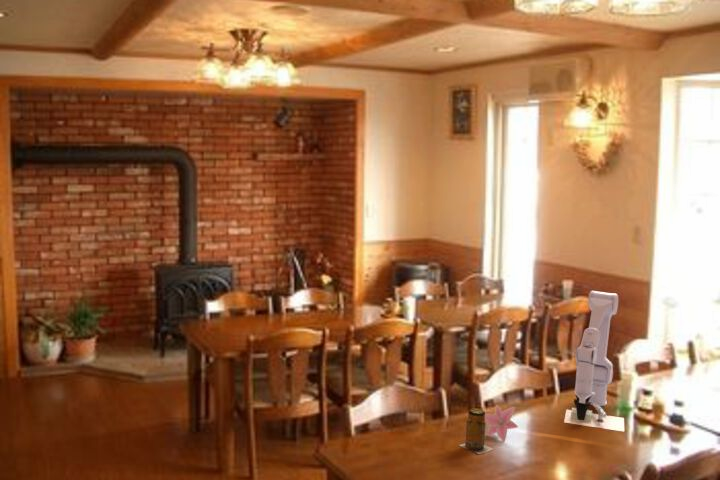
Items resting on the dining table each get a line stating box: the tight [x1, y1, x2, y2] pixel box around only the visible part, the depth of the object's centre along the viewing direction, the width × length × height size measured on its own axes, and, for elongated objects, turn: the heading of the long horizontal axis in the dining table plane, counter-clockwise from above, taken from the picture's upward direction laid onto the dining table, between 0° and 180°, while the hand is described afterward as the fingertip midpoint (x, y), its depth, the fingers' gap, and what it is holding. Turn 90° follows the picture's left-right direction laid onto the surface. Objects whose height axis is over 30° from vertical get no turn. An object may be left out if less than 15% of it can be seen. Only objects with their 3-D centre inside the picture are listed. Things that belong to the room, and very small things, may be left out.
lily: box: [485, 404, 519, 442], centre depth 245 cm, size 12×12×10 cm
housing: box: [563, 409, 625, 433], centre depth 260 cm, size 14×20×1 cm
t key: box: [592, 402, 607, 421], centre depth 261 cm, size 2×12×4 cm, turn 178°
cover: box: [570, 407, 593, 422], centre depth 262 cm, size 5×7×2 cm
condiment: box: [458, 408, 494, 455], centre depth 233 cm, size 7×8×12 cm
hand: (581, 416), depth 262 cm, fingers open, 6 cm apart
